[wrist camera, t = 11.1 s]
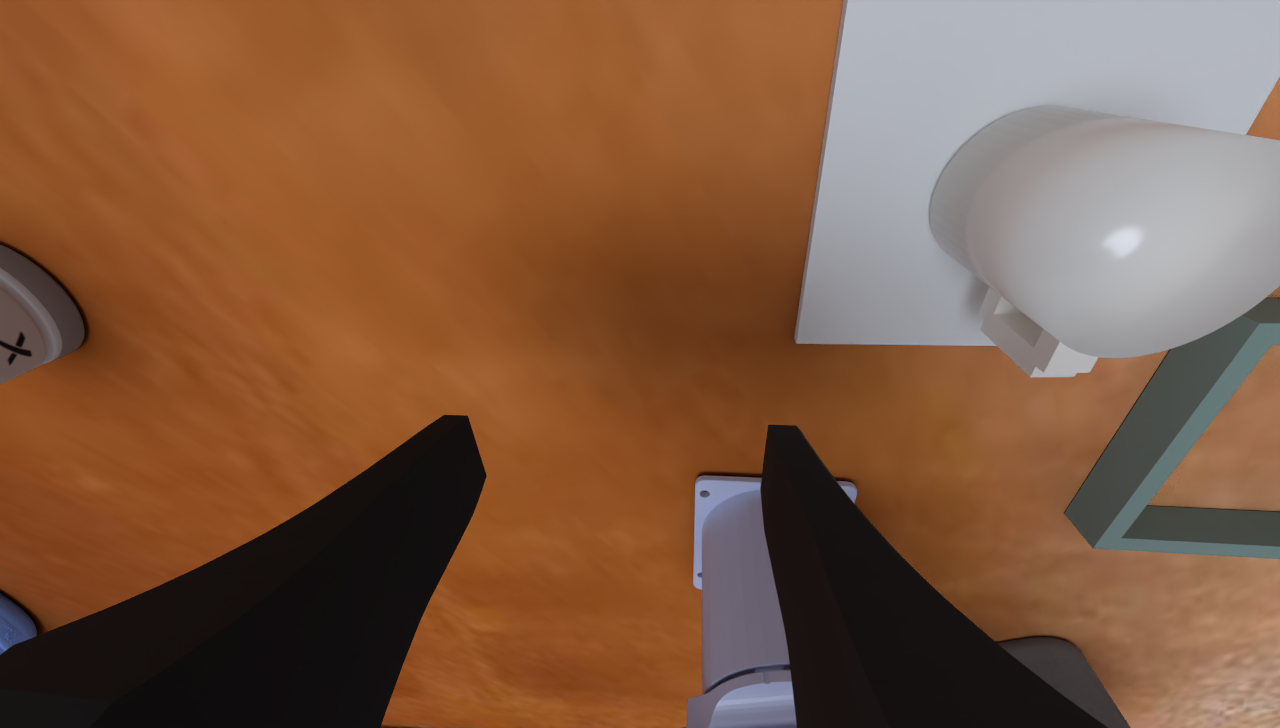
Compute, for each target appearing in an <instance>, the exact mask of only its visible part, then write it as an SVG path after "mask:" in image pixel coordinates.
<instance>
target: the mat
mask: <svg viewBox="0 0 1280 728" xmlns="http://www.w3.org/2000/svg"><path fill="white" fill-rule="evenodd" d="M1279 77H1280V0H843V7H842V14H841V21H840V27H839V34H838V41H837V48H836V55H835V62H834V69H833V75H832V82H831V89H830V96H829V103H828V110H827V117H826V123H825V130H824V137H823V144H822V151H821V158H820V165H819V171H818V178H817V185H816V192H815V199H814V206H813V212H812V219H811V226H810V233H809V240H808V247H807V254H806V260H805V267H804V274H803V281H802V288H801V295H800V302H799V308H798V315H797V322H796V329H795V336H794V339H795V341H796V344H869V345H964V346H997V345H996V344H994V343H993V342H992V341H991V340H990V339H989V338H988V337H987V336H986V335H985V334H984V333H983V332H982V331H981V330H980V328H981V326H982V323H983V321H984V319H983V318H982V317H981V316H979V312H980V309H981V307H982V304H983V302H984V299H985V297H986V294H987V291H988V289H989V286H988V285H986V284H985V283H984V282H983V281H981V280H980V279H979V278H977V277H976V276H975V275H974V274H972V273H971V272H970V271H968V270H967V269H966V268H965V267H963V266H962V265H961V264H959V263H958V262H957V261H956V260H954V259H953V258H952V257H950V256H949V255H948V254H947V253H945V252H944V251H943V250H942V249H941V247H940V246H939V245H938V243H937V242H936V240H935V238H934V236H933V233H932V229H931V225H930V206H931V201H932V197H933V194H934V191H935V188H936V185H937V183H938V181H939V179H940V177H941V175H942V173H943V172H944V170H945V169H946V167H947V165H948V164H949V163H950V161H951V160H952V159H953V157H954V156H955V155H956V154H957V153H958V152H959V150H960V149H961V148H962V147H963V146H964V145H965V144H966V143H967V142H968V141H969V140H971V139H972V138H973V137H974V136H975V135H977V134H978V133H979V132H980V131H982V130H983V129H984V128H986V127H988V126H989V125H991V124H992V123H994V122H996V121H997V120H999V119H1001V118H1003V117H1006V116H1008V115H1010V114H1012V113H1015V112H1018V111H1020V110H1024V109H1028V108H1032V107H1038V106H1045V105H1058V106H1064V107H1070V108H1077V109H1083V110H1089V111H1096V112H1102V113H1109V114H1115V115H1121V116H1128V117H1134V118H1140V119H1147V120H1153V121H1159V122H1166V123H1172V124H1178V125H1185V126H1191V127H1198V128H1204V129H1210V130H1217V131H1223V132H1229V133H1236V134H1242V135H1246V133H1247V132H1248V130H1249V128H1250V127H1251V125H1252V123H1253V121H1254V120H1255V118H1256V116H1257V115H1258V113H1259V111H1260V109H1261V108H1262V106H1263V104H1264V103H1265V101H1266V99H1267V97H1268V96H1269V94H1270V92H1271V90H1272V89H1273V87H1274V85H1275V84H1276V82H1277V80H1278V78H1279Z"/></svg>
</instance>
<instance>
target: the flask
mask: <svg viewBox="0 0 1280 728" xmlns="http://www.w3.org/2000/svg"><path fill="white" fill-rule="evenodd" d="M997 644H998V645H1000V646H1001V647H1002V648H1003V649H1005V650H1006V651H1007V652H1008V653H1009V654H1011V655H1012V656H1013V657H1014V658H1016V659H1017V660H1018V661H1020V662H1021V663H1022V664H1023V665H1025V666H1026V667H1027V668H1029V669H1030V670H1031V671H1032V672H1034V673H1035V674H1036V675H1037V676H1039V677H1040V678H1041V679H1043V680H1044V681H1045V682H1046V683H1048V684H1049V685H1050V686H1052V687H1053V688H1054V689H1055V690H1057V691H1058V692H1059V693H1061V694H1062V695H1063V696H1065V697H1066V698H1068V699H1069V700H1070V701H1072V702H1073V703H1074V704H1076V705H1077V706H1079V707H1080V708H1081V709H1083V710H1084V711H1086V712H1087V713H1088V714H1090V715H1091V716H1093V717H1094V718H1095V719H1097V720H1098V721H1100V722H1101V723H1102V724H1104V725H1105V726H1107V727H1108V728H1130V726H1129V725H1128V723H1127V722H1126V720H1125V719H1124V717H1123V715H1122V714H1121V712H1120V711H1119V709H1118V708H1117V706H1116V705H1115V703H1114V702H1113V700H1112V699H1111V697H1110V696H1109V694H1108V693H1107V691H1106V690H1105V688H1104V686H1103V685H1102V683H1101V682H1100V680H1099V679H1098V677H1097V676H1096V674H1095V673H1094V671H1093V670H1092V668H1091V667H1090V665H1089V664H1088V662H1087V660H1086V659H1085V657H1084V656H1083V654H1082V653H1081V651H1080V650H1079V649H1078V648H1077V647H1075V646H1074V645H1072V644H1071V643H1069V642H1066V641H1064V640H1060V639H1056V638H1053V637H1030V638H1024V639H1018V640H1012V641H1006V642H1000V643H997Z"/></svg>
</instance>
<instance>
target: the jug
mask: <svg viewBox="0 0 1280 728" xmlns="http://www.w3.org/2000/svg"><path fill="white" fill-rule="evenodd" d="M930 225H931V229H932V233H933V236H934V238H935V240H936V242H937V243H938V245H939V246H940V247H941V249H942V250H943V251H944V252H945V253H947V254H948V255H949V256H950V257H952V258H953V259H954V260H956V261H957V262H958V263H959V264H961V265H962V266H963V267H965V268H966V269H967V270H968V271H970V272H971V273H972V274H974V275H975V276H976V277H977V278H979V279H980V280H981V281H983V282H984V283H985V284H986V285H988V286H989V289H988V291H987V294H986V297H985V299H984V302H983V304H982V307H981V309H980V312H979V316H981V317H982V318H983V319H984V321H983V323H982V326H981V328H980V330H981V331H982V332H983V333H984V334H985V335H986V336H987V337H988V338H989V339H990V340H991V341H992V342H993V343H994V344H996V345H997V346H998V347H999V348H1000V349H1001V350H1002V351H1003V352H1004V353H1005V354H1006V355H1007V356H1008V357H1009V358H1010V359H1011V360H1012V361H1013V362H1014V363H1016V364H1017V365H1018V366H1019V367H1020V368H1021V369H1022V370H1023V371H1024V372H1025V373H1026V374H1027V375H1028V376H1029V377H1075V375H1076V373H1090V371H1091V369H1092V368H1093V366H1094V364H1095V362H1096V361H1097V359H1098V357H1101V358H1129V357H1137V356H1144V355H1149V354H1153V353H1158V352H1162V351H1166V350H1169V349H1172V348H1175V347H1178V346H1181V345H1184V344H1186V343H1189V342H1192V341H1194V340H1197V339H1199V338H1201V337H1203V336H1205V335H1207V334H1210V333H1212V332H1214V331H1216V330H1217V329H1219V328H1221V327H1223V326H1225V325H1227V324H1228V323H1230V322H1232V321H1233V320H1235V319H1237V318H1238V317H1240V316H1241V315H1243V314H1244V313H1246V312H1247V311H1249V310H1250V309H1252V308H1253V307H1254V306H1256V305H1257V304H1258V303H1260V302H1261V301H1262V300H1264V299H1265V298H1266V297H1267V296H1268V295H1270V294H1271V293H1272V292H1273V291H1274V290H1275V289H1277V288H1278V287H1279V286H1280V140H1274V139H1267V138H1261V137H1255V136H1248V135H1242V134H1236V133H1229V132H1223V131H1217V130H1210V129H1204V128H1198V127H1191V126H1185V125H1178V124H1172V123H1166V122H1159V121H1153V120H1147V119H1140V118H1134V117H1128V116H1121V115H1115V114H1109V113H1102V112H1096V111H1089V110H1083V109H1077V108H1070V107H1064V106H1058V105H1045V106H1038V107H1032V108H1028V109H1024V110H1020V111H1018V112H1015V113H1012V114H1010V115H1008V116H1006V117H1003V118H1001V119H999V120H997V121H996V122H994V123H992V124H991V125H989V126H988V127H986V128H984V129H983V130H982V131H980V132H979V133H978V134H977V135H975V136H974V137H973V138H972V139H971V140H969V141H968V142H967V143H966V144H965V145H964V146H963V147H962V148H961V149H960V150H959V152H958V153H957V154H956V155H955V156H954V157H953V159H952V160H951V161H950V163H949V164H948V165H947V167H946V169H945V170H944V172H943V173H942V175H941V177H940V179H939V181H938V183H937V185H936V188H935V191H934V194H933V197H932V201H931V206H930Z"/></svg>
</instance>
